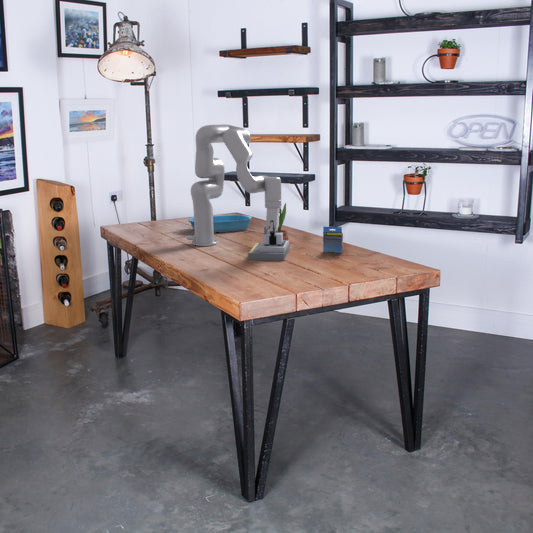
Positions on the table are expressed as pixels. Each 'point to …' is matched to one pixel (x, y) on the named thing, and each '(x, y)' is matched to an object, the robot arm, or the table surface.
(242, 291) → the table surface
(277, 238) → the lidded storage box
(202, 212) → the robot arm
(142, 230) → the table surface
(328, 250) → the label tape cartridge
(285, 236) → the potted flower
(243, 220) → the casserole dish
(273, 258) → the dock
